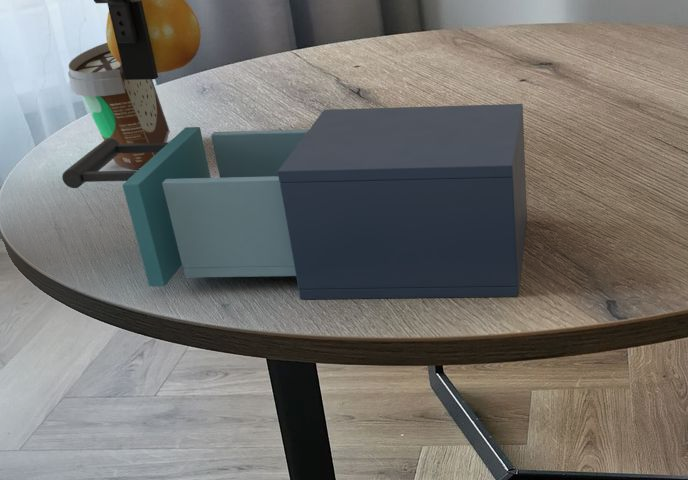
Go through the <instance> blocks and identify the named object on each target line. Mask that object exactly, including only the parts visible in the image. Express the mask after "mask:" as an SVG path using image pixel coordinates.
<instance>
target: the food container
mask: <svg viewBox="0 0 688 480" xmlns="http://www.w3.org/2000/svg"><path fill="white" fill-rule="evenodd" d="M67 74H68V75H67V76H68V81H69V85H70V91H71V92H72V93H73V94H75V95H78V96H81V97H82V100H83V101H84V103H85V106H86V107H87V109H88V111H89V113H90V115H91V117H92V119H93V121H94V123H95V125H96V127H97V129H98V131H99V133H100V135H101V137H102V139H103V141H104V140H106V139H108V138H111V139H115V140H116V141H117V142H118V143H119V144H134V143H167V141H168V138H169V135H170V133H171V132H170V128H169V125H168V122H167V119H166V116H165V113H164V110H163V107H162V104H161V101H160V98H159V95H158V92H157V89H156V86H155V83H154V81H153V80H154V79H145V80H125V76H124V72H123V68H122V64H120V63H119V62H118V61H117V60H116V59H115V58H114V56H113V55H112V54H111V52H110V50H109V47H108V44H107V42H104V43H102V44H99V45H96V46H94V47H92V48H89V49H87V50H85V51H83V52H81V53H80V54H78V55H76V56H75V57H74V58H72V59H71V61H69V62H68V72H67ZM157 153H158V152H152V153H119V154H118V155H117V156H116V157H115V158H113V159H112V160H113V161H114V163H115V164H116V166H118V167H119V168H123V169H127V170H128V169H129V170H139V169H140V168H141V167H142V166H144V165H145V164H146V163H147V162H148V161H149V160H150V159H151V158H152V157H153V156H155V155H156V154H157Z"/></svg>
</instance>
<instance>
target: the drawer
mask: <svg viewBox="0 0 688 480" xmlns="http://www.w3.org/2000/svg"><path fill="white" fill-rule="evenodd" d="M309 129H310V128H305V129H304V128H303V129H299V128H298V129H267V130H266V129H265V130H264V129H263V130H234V131H232V130H231V131H227V130H226V131H213V132H212V134H210V138H211V143H212V147H213V152H214V157H215V161H216V166H217V170H218V171H217V172H218V175H219V177H212V176H211V172H210V168H209V167H210V166H209V163H208V158H207V154H206V149H205V144H204V139H203V135H202V131H201V127H200V126H185V127H184V128H183V129H182V130H181V131H180V132H179V133H177V134H176V136H175V137H173V138H172V139H171V140H170V141H169V142H166V143H134V144H119V143H118V142H117V141H116V140H115V139H111V138H108V139H106V140H104V139H103V141H102V142H101V143H99V144H98V145H96V146H95V147H94V148H93V149H92V150H90V151H89V152H88V153H86V154H85V155H83V156H82V157H81V158H80V159H78V160H77V161H76V162H74V163H73V164H72V165H71V166H70V167H68V168H67V169H66V170H64V172H63V173H62V177H61V178H62V182H63V183H64V184H65V185H66V187H68V188H70V189H79V188H80V187H81V186H82V185H83V184H85V183H93V182H95V183H97V182H100V183H101V182H123V183H122V185H121V186H122V190H123V193H124V197H125V202H126V205H127V209H128V212H129V217H130V220H131V223H132V227H133V231H134V234H135V238H136V242H137V245H138V249H139V253H140V257H141V261H142V264H143V268H144V272H145V275H146V280H147V283H148V286H149V287H165V286H166V285H167V284H168V283H169V282H170V280H171V279H172V278H173V276H174V275H175V274H176V273H177V272H178V270H180V268H181V267H182V270H183V274H184V278H187V279H188V278H246V277H247V278H250V277H251V278H252V277H255V278H256V277H296V272H295V266H294V261H293V255H292V249H291V244H290V238H289V233H288V227H287V221H286V216H285V210H284V205H283V199H282V193H281V188H280V182H279V177H278V170H279V169H280V168H281V166H282V165H283V164H284V162H285V161H286V160H287V158H288V157H289V156H290V154H291V153H292V152H293V150H294V149H295V148H296V146H297V145H298V144H299V142H300V141H301V140H302V138H303V137H304V136H305V134H306V133H307V132H308V130H309ZM152 152H158V153H157V154H156V155H155V156H153V157H152V158H151V159H150V160H149V161H148V162H147V163H146V164H145V165H144V166H142V167H141V168H140V169H130V170H102V169H103V168H104V167H106V166H107V165H108V164H109V163H110V162H112V160H114V159H113V158H115V157H116V156H117V155H118V154H119V153H152Z"/></svg>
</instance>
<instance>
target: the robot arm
mask: <svg viewBox="0 0 688 480" xmlns="http://www.w3.org/2000/svg"><path fill="white" fill-rule="evenodd" d="M93 2H94V3H95V4H107V8H108V13H109V12H110V17H111V21H112V25H113V29H114V34H115V38H116V42H117V46H118V51H119V55H120V59H121V64H122V68H123V72H124V76H125V80H145V79H152V80H157V79H158V78H159V73H157V69H156V64H155V60H154V55H153V51H152V46H151V41H150V37H149V32H148V27H147V23H146V18H145V14H144V9H143V4H142V0H93Z"/></svg>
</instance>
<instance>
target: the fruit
mask: <svg viewBox="0 0 688 480" xmlns="http://www.w3.org/2000/svg"><path fill="white" fill-rule="evenodd" d="M142 4H143V9H144V14H145V18H146V23H147V27H148V32H149V37H150V41H151V46H152V51H153V55H154V60H155V64H156V69H157V74H161V73H167V72H171V71H174V70H178V69H181V68H183V67H185V66H186V65H188V64H189V63H190V62H191V61H192V60H193V59H194V58H195V57H196V55H197V53H198V51H199V48H200V45H201V28H200V23H199V20H198V17H197V16H196V14H195V12H194V11H193V9H192V7H191V6H190V5H189V4H188V2H187V1H186V0H142ZM105 27H106V28H105V34H106V35H105V36H106V43H107V44H108V47H109V50H110V52H111V54H112V55H113V56H114V58H115V59H116V60H117V61H118V62H119V63H120V64H121V59H120V55H119V51H118V46H117V42H116V38H115V34H114V29H113V25H112V21H111V17H110V12H109V11H108V13H107V18H106V26H105Z"/></svg>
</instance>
